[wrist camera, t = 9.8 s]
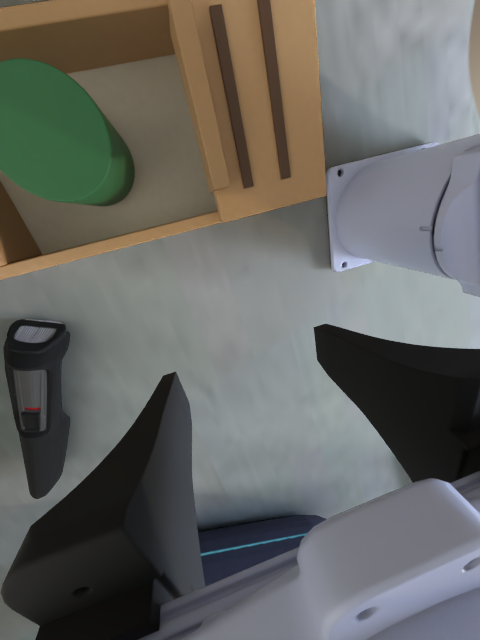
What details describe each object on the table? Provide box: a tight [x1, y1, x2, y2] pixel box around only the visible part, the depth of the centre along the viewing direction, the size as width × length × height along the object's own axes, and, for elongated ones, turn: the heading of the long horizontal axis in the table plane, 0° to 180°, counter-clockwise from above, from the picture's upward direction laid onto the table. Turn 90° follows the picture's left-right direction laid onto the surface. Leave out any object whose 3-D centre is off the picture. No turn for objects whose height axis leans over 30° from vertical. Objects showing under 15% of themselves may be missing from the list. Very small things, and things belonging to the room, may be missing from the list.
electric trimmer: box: [4, 318, 70, 499], centre depth 19 cm, size 4×16×3 cm, turn 167°
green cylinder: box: [0, 58, 135, 206], centre depth 12 cm, size 4×4×6 cm
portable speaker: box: [198, 515, 326, 586], centre depth 30 cm, size 25×10×10 cm, turn 82°
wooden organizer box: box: [0, 0, 327, 280], centre depth 13 cm, size 18×9×7 cm, turn 103°
